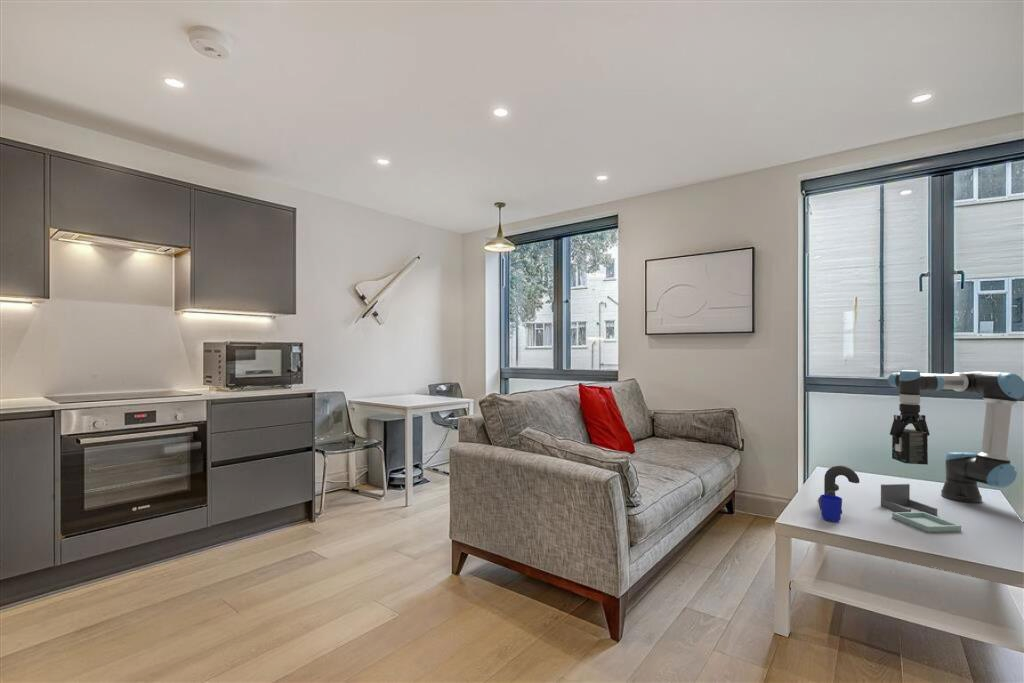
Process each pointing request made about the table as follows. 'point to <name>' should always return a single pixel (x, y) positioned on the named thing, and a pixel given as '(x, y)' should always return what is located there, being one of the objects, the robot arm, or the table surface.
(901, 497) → the bay
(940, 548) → the table surface
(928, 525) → the tray
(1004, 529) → the table surface
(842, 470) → the faucet
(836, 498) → the mug
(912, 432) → the dark grey box
